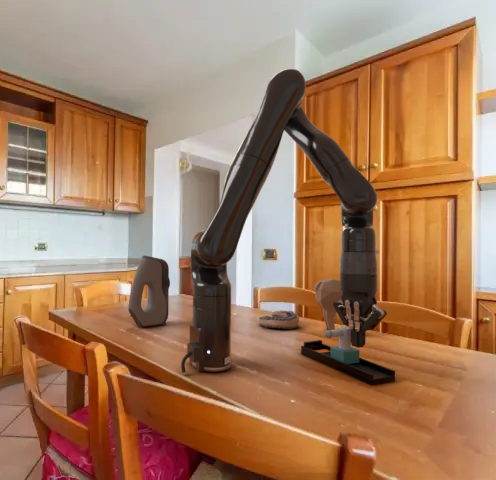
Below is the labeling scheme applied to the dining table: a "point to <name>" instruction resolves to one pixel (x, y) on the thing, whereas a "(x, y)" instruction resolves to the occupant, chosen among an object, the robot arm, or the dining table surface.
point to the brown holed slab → (150, 292)
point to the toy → (329, 298)
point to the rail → (360, 371)
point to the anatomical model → (280, 320)
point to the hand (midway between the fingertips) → (357, 346)
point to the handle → (343, 346)
